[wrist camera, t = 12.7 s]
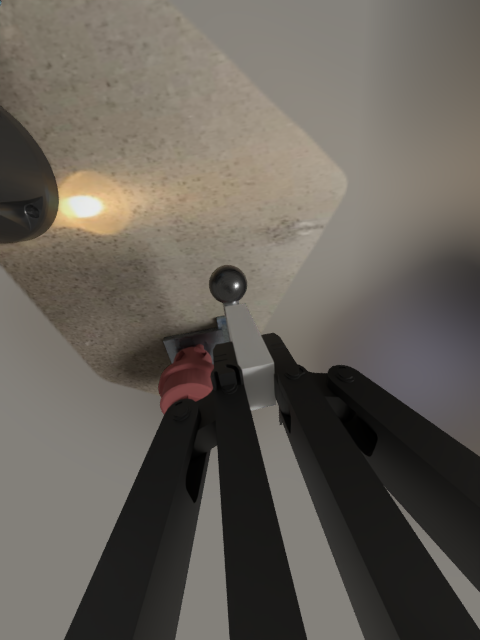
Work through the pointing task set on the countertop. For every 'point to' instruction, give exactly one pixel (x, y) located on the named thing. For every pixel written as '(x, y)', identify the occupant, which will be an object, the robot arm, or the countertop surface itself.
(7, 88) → the countertop surface
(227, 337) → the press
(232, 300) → the lever
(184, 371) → the mechanical component
